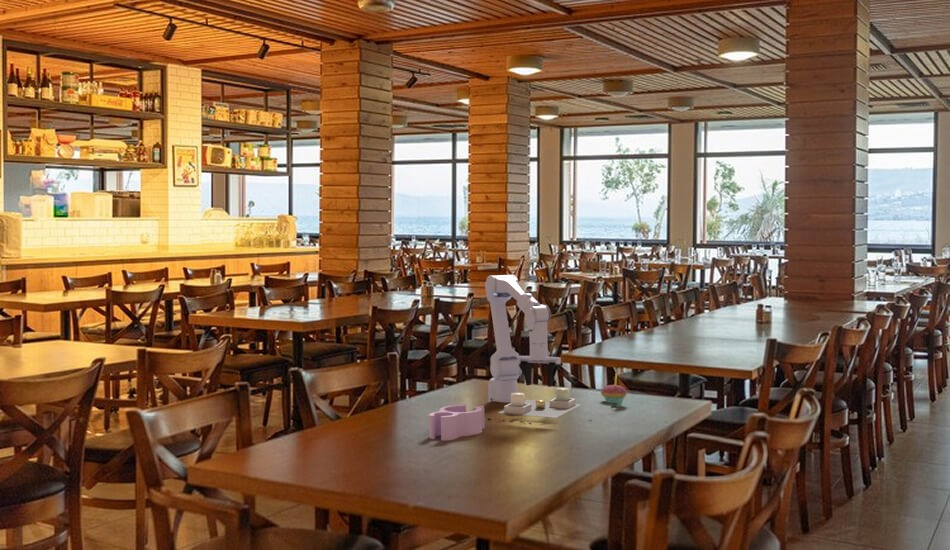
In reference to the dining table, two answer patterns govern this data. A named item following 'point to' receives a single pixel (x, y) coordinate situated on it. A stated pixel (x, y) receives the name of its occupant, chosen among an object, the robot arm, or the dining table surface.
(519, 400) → the ivory knob
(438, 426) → the clip
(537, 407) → the gold knob
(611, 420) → the dining table surface
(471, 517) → the dining table surface
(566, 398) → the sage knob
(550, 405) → the panel
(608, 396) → the cupcake
